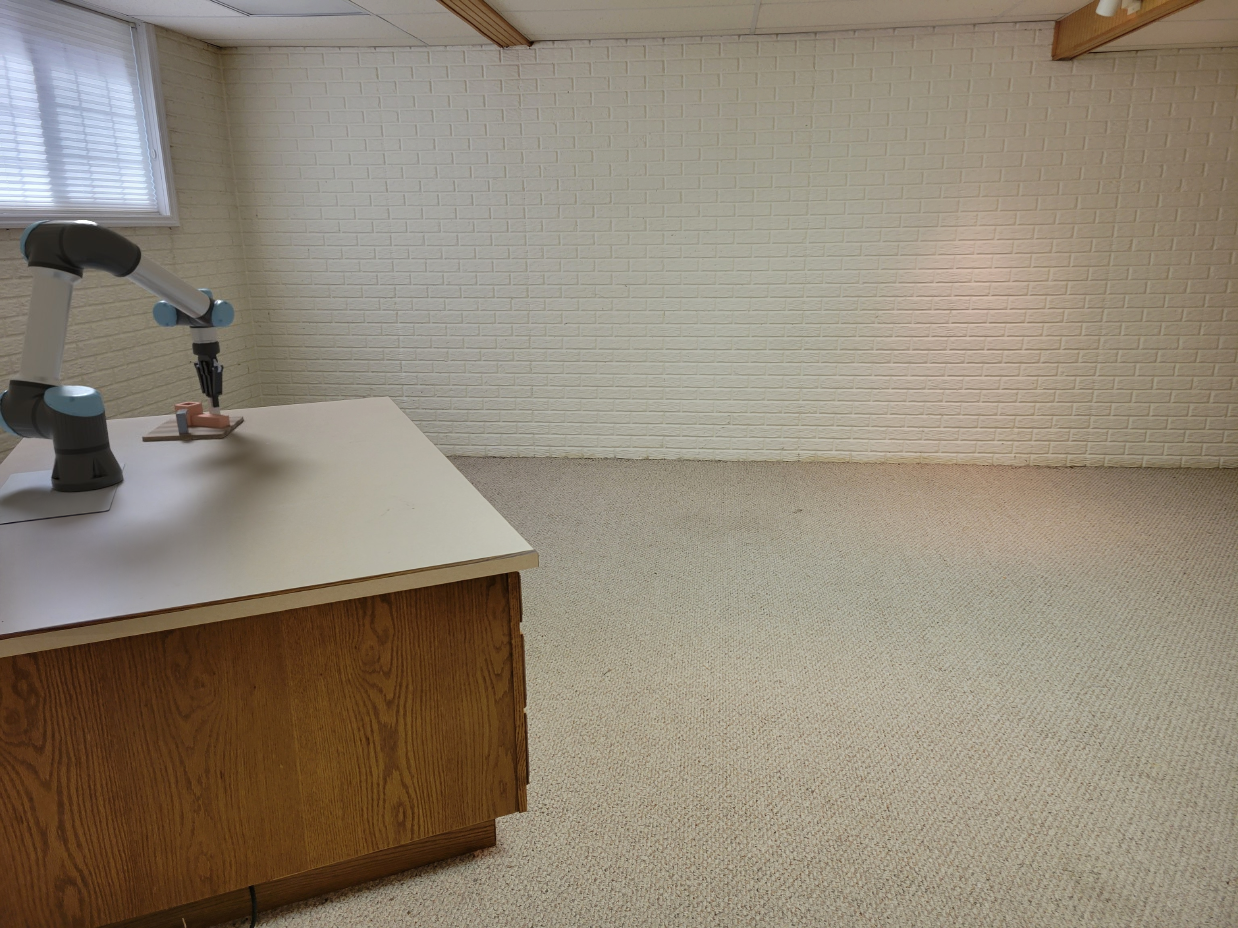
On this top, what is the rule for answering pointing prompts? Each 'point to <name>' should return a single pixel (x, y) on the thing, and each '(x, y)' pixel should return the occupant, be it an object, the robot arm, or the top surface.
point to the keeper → (182, 421)
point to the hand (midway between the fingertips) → (215, 417)
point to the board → (190, 431)
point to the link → (202, 416)
